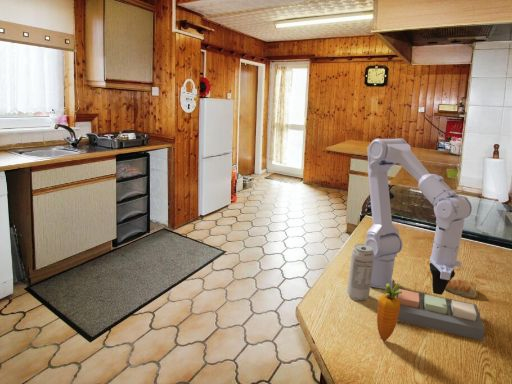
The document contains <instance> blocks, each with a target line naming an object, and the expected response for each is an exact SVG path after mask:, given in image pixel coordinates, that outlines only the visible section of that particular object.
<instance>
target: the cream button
mask: <svg viewBox="0 0 512 384" xmlns="http://www.w3.org/2000/svg"><path fill="white" fill-rule="evenodd" d="M454 300H455V299H452V301H451V306H450V310H451V315H452V316H455V317H460V318H464V319H469V320H473V321H475V320H476V316H477V314H476V311H475V308H474V305H473V304H474V303H471V304H469V303H470V302H467V303H464V302H465V301H462V302H459V301H460V300H457V301H454Z"/></svg>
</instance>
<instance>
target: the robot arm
mask: <svg viewBox="0 0 512 384" xmlns="http://www.w3.org/2000/svg"><path fill="white" fill-rule="evenodd" d="M411 148H412V147H411V145H410V144H409V143H408V142H407V141H406V140H405V139H403V138H402V137H399V138H374V139H373V140H372V141H371V142H370V144H369V145H368V146H367V148H366V152H367V162H368V163H367V177H368V185H369V188H368V189H369V197H370V208H371V218H372V219H371V220H372V226H371V227H370V228H369V229H368V230H366V239H365V242H364V244H365V245H369V246H371V247H372V248H373V253H374V262H373V269H372V276H371V284H370V287H372V288H377V289H381V290H386V284H389V285H390V288H391V291H392V289H393V284H394V283H393V281H394V280H393V279H394V278H393V272H394V267H395V266H394V265H395V259H396V258H397V256H398V254H399V253H400V252H401V251H402V250H403V245H404V244H403V240H402V238H401V235H400V231H399V229H398V227H396V226H395V225H394V224H393V220H392V219H393V218H392V210H391V207H392V206H391V200H390V199H391V198H390V189H389V177H388V172H389V171H390V169H391V168H392V167H393V166H394V165H396V164H399V165H400V166H401V167H402V168H403V169H404V170H406V171H407V172H408V174H409V175H411V177H413V178H414V179H415V180H416V181H417V183H418V185H417V189H418V190H419V191H420V192H421V193H422V195H423V196H424V197H425V198H426V199H427V200H428V201H429V202H430V204H431V205H432V206H433V214H434V215H435V218H436V220H435V224H436V227H435V234H434V238H433V244H432V249H431V255H430V257H429V261H430V263H429V270H430V273H431V278H432V282H431V283H432V284H431V285H432V293H433V294H436V295H443V294H444V293H445V291H446V290H445V288H446V286H447V284H448V282H449V281H450V280H451V279H452V280H453V279H454V277H455V275H456V271H455V268H456V267H459V268H461V267H462V262H461V261H459V260H458V255H459V251H460V250H459V249H460V246H461V245H460V244H461V240H462V236H463V235H462V234H463V229H464V225H465V224H464V223H465V219H467V218H469V216H470V215H471V214H472V212H473V211H472V210H473V209H472V207H473V206H472V203H471V201H470V200H469V199H468V198H467V197H466V196H464V195H460V194H457V192H456V191H455V190H453V189H452V188H451V187H450V186H449V185H448V184H447V183H446V182H445V180H444V177H443V176H442V175H438V174H437V173H430V172H429V171H428V170H427V168H426V167H425V166H424V165H423V164H422V162H421V161H420V160H419V159H418V157H417V156H416V155H415V153H414V152H413V151H412V149H411Z"/></svg>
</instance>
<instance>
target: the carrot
mask: <svg viewBox="0 0 512 384" xmlns="http://www.w3.org/2000/svg"><path fill="white" fill-rule="evenodd" d="M393 287H394V290H393V291H392V290H391V288H390V285H389V284H386V289H385V292H386V293H385V294H382V295H379V297H378V303H377V313H376V314H377V315H376V323H377V325H376V326H377V330H378V335H379V337H380V339H381V340H382V341H383V342H386V341H387V340H388V339H389V338H390V337H391V336H392V335H393V332H394V331H395V329H396V325H397V323H398V321H397V320H398V315H399V310H400V300H399V299H398V298H396V297H395V296H396V295H397V294H399V293H402V291H396V290H397V288H399V287H400V283H396V284H395V286H393Z"/></svg>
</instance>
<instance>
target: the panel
mask: <svg viewBox="0 0 512 384" xmlns="http://www.w3.org/2000/svg"><path fill="white" fill-rule="evenodd" d="M394 287H395V286H392V290H391V292H392V291H393V290H394ZM399 289H402V290H407V291H411V292H416V293H419V307H418V308H415V307H410V306H406V305H401V304H400V310H399V315H398V320H397V322H401V323H406V324H410V325H414V326H418V327H422V328H426V329H430V330H435V331H440V332H444V333H448V334H452V335H456V336H459V337H465V338H469V339H473V340H477V341H484V336H485V332H486V328H485V326H484V322H483V320H482V316H481V314H480V311H479V308H478V305H477V304H476V303H471V302H465V301H460V300H456V299H451V298H447V297H442V296H437V295H432V294H430V295H431V296H435V297H440V298H445V299H446V304H447V312H446V314H442V313H437V312H433V311H428V310H424V309H423V301H424V296H425V294H426V295H429V294H428V293H423V292H418V291H414V290H413V291H412V290H409V289H404V288H399V287H398V288H397V290H396V291H399ZM395 297H396V298H398V294H397V295H396V296H395ZM452 300H454V301H459V302H464V303H469V304H473V305H474V308H475V311H476V314H477V316H476V320H475V321H473V320H469V319H464V318H460V317H455V316H452V315H451V310H450V306H451V301H452Z"/></svg>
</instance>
